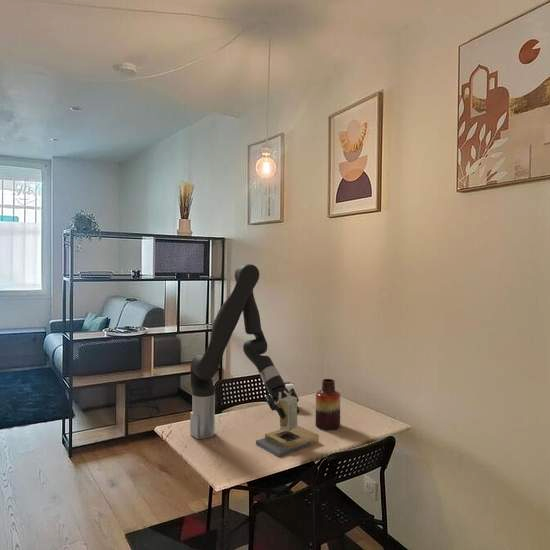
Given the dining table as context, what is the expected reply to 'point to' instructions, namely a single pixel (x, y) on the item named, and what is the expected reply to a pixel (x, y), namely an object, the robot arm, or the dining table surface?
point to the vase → (328, 406)
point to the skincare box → (289, 413)
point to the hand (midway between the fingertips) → (291, 415)
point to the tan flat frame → (281, 447)
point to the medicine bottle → (290, 387)
